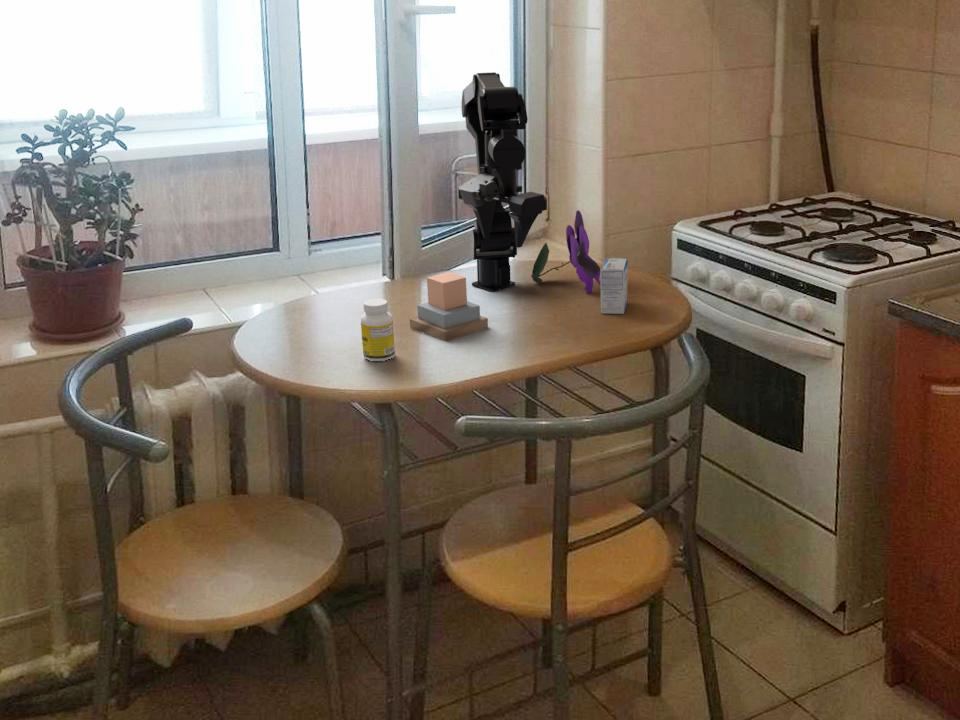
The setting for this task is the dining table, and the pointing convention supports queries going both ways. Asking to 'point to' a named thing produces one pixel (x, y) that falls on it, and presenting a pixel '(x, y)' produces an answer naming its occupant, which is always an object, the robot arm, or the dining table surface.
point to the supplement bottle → (377, 331)
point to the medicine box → (614, 286)
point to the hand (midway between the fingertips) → (502, 242)
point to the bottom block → (448, 332)
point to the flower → (572, 256)
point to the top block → (449, 314)
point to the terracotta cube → (447, 291)
